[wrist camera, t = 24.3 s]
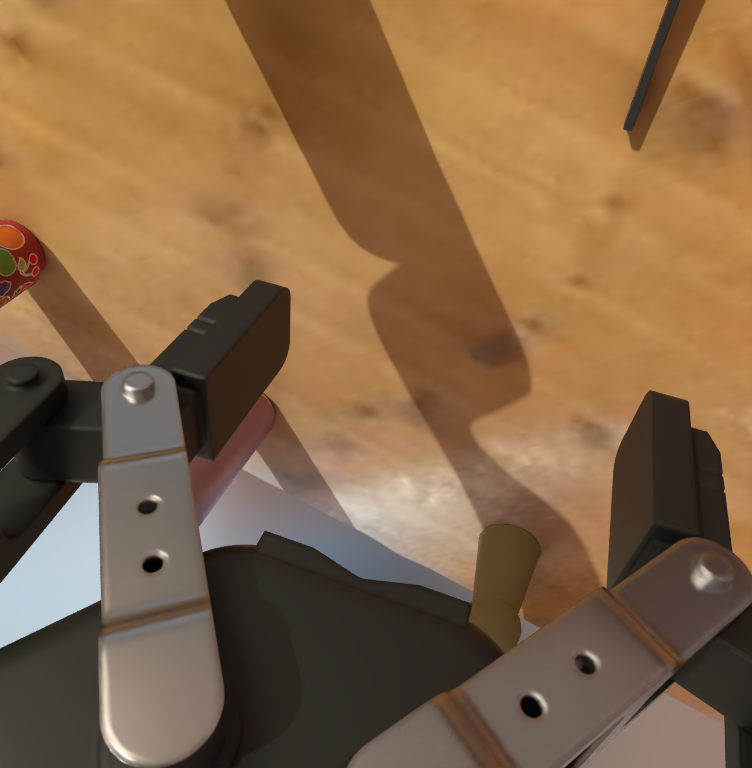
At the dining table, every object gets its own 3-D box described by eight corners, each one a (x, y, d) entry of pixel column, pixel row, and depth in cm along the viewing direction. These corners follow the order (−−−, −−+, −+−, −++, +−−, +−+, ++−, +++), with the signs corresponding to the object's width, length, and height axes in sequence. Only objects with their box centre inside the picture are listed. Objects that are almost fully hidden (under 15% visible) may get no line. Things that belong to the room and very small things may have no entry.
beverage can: (264, 379, 61) (174, 487, 49) (286, 428, 64) (206, 541, 52) (215, 382, 63) (119, 486, 52) (238, 430, 66) (152, 537, 55)
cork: (479, 518, 62) (452, 613, 54) (543, 531, 60) (524, 631, 52) (478, 559, 65) (452, 653, 57) (538, 572, 63) (520, 672, 55)
